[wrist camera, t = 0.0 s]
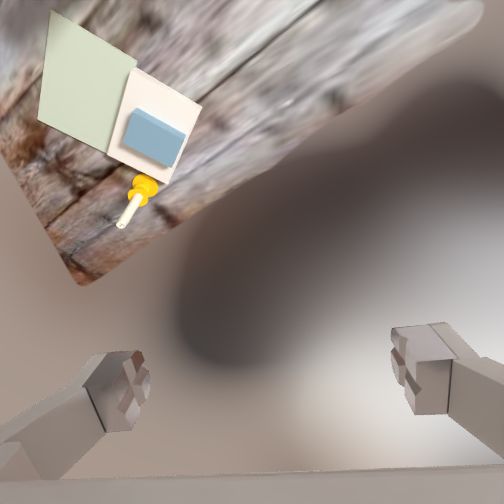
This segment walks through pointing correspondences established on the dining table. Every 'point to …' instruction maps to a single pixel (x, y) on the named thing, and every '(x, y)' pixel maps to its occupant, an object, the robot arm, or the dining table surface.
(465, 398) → the robot arm
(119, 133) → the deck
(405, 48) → the dining table surface
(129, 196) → the candle
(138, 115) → the tile
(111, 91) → the mat
